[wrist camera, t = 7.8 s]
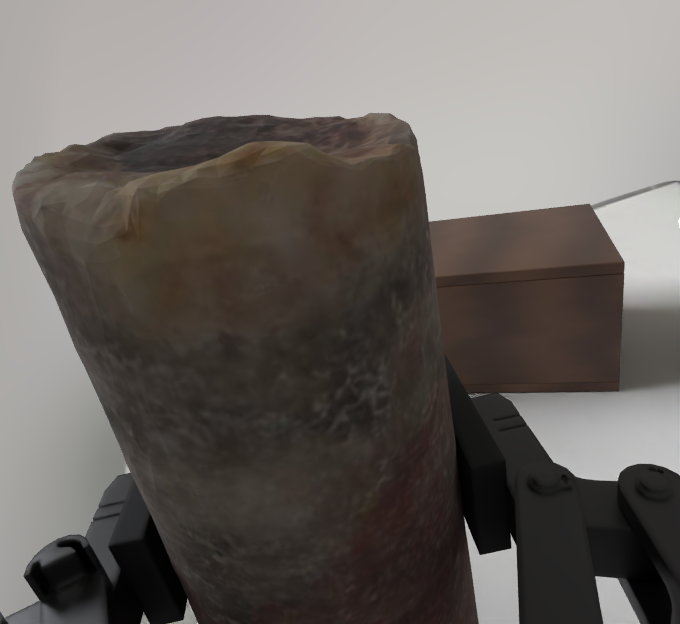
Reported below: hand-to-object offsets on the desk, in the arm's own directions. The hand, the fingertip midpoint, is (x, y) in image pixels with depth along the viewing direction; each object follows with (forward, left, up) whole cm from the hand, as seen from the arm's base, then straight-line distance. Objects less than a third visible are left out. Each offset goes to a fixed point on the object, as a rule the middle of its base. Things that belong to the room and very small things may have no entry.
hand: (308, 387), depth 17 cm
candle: (+2, -5, -11) cm, 12 cm away
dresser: (+6, +25, -14) cm, 30 cm away
